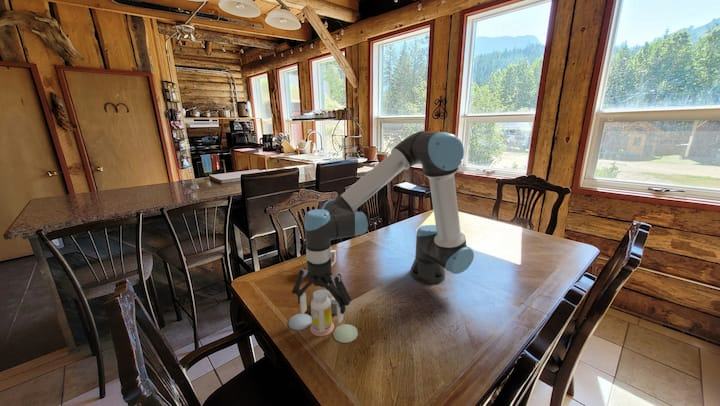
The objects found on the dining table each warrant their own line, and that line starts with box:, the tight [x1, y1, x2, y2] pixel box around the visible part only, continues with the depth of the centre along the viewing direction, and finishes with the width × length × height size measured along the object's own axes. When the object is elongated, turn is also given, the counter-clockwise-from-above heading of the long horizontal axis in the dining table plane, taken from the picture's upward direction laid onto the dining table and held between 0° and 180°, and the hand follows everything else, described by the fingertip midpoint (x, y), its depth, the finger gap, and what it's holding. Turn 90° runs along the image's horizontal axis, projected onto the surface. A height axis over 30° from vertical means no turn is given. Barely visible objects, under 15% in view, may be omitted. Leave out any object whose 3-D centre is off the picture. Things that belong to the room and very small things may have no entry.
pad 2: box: [309, 321, 335, 337], centre depth 96 cm, size 8×8×1 cm
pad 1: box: [288, 313, 312, 331], centre depth 99 cm, size 8×8×1 cm
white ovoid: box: [325, 289, 335, 301], centre depth 107 cm, size 6×6×7 cm
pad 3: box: [332, 323, 359, 344], centre depth 94 cm, size 8×8×1 cm
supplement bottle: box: [310, 289, 333, 333], centre depth 95 cm, size 7×7×13 cm
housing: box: [321, 287, 339, 316], centre depth 107 cm, size 9×9×4 cm
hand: (321, 316), depth 95 cm, fingers open, 13 cm apart
